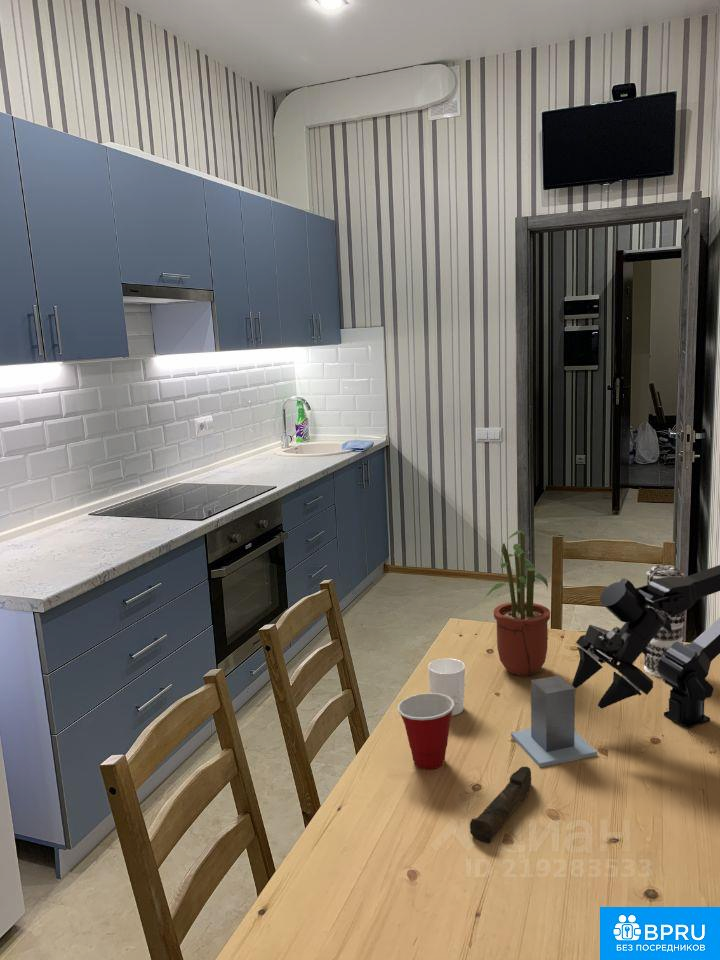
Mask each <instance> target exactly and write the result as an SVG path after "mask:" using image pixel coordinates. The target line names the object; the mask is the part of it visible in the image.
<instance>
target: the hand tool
mask: <svg viewBox="0 0 720 960" xmlns="http://www.w3.org/2000/svg"><path fill="white" fill-rule="evenodd" d="M531 786H532V771H531V768H530V767H529V766H521V767H519V769H517V770H515V772H513V773H512V774H511V775H510V777H509V782H508V783H507V784H506V786H505V787H504V789H502V791H500V792H499V793H498V795H497V796H496V797H495V798H494V799H493V800H492V801H491V802H490V804H488V805H487V806H486V808H484V810H483V811H482V812H481V814H479V815H478V817H475V818H472V819H471V820H470V823H469V829H470V830H469V833H470V835H471V836H472V838H473V839H476V840H478V841H479V842H482V843H485V844H490V843H491V842H492V840H493V839H494V838H495V837H496V836H495V835H496V833H497V831H498V830H499V828H501V826H502V825H503V824H504V822H505V820H507V819H509V818H510V815H511V814H512V813H513V811H514V810H515V809H516V808H517V807H518V806H519V804H520V803H524V802H525V801H526V799H527V798H528V796H529V793H530V790H531Z"/></svg>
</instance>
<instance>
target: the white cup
mask: <svg viewBox="0 0 720 960" xmlns="http://www.w3.org/2000/svg"><path fill="white" fill-rule="evenodd" d="M427 667H428V669H427V670H428V680H429V689H430V691H429V693H438V694H443V695H446V696H449V697H450V698H451V699H453V701H454V708H453V710H452V715H451V717H454V716H456V715H457V716H458V715H460V714H461V713H462V712H463V711H464V702H465V700H464V699H465V686H466V684H465V681H466V679H465V675H466V665H465V663H464V662H463V661H461V660H458V659H456V658H455V659H454V658H449V657H447V658H438V659H434V660H432V661H431V662H429V664H428V665H427Z"/></svg>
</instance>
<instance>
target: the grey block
mask: <svg viewBox="0 0 720 960" xmlns="http://www.w3.org/2000/svg"><path fill="white" fill-rule="evenodd" d="M575 701H576V688H574V687H573V686H572V684H570V683H569V682H568V681H567V680H565V679H564V678H562V677H561V676H560V675H554V676H553V675H552V676H548V677H547V676H546V677H542V678H536V679H531V680H530V729H531V737H532V738H533V739H534V740H535V741H536V742H537V743H538V744H539V745H540V746H541V747H542V748H543V749H544V750H545V751H546V752H550V751H555V750H559V749H564V748H569V747H574V733H575V732H576V731H575V730H576V729H575V726H576V725H575V722H576V721H575V720H576V719H575V717H576V716H575V715H576V713H575V712H576V711H575V708H576V707H575V706H576V702H575Z"/></svg>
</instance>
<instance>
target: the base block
mask: <svg viewBox="0 0 720 960" xmlns="http://www.w3.org/2000/svg"><path fill="white" fill-rule="evenodd" d="M510 737H511V738H512V739H513V740H514V741H515V743H517V744H518V745H519V747H521V749H522V750H523V751H524V752H525V753H526V754H527V755H528V756H529V758H530V759H532V761H533V762H534V763H535V764H536V765H537V767H539V768H543V767H549V766H553V765H557V764H563V763H567V762H572V761H578V760H581V759H586V758H591V757H596V756H598V750H596V749H595V748H594V747H593V746H592V745H591V744H590V743H588V742H587V741H586V740H585V738H583V737H582V736H581V735H579V734H578V732H576V731H575V733H574V747H569V748H564V749H559V750H555V751H550V752H546V751H545V750H544V749H543V748H542V747H541V746H540V745H539V744H538V743H537V742H536V741H535V740H534V739H533V738H532V737H531V728H527V729H519V730H516V731H511V732H510Z"/></svg>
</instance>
